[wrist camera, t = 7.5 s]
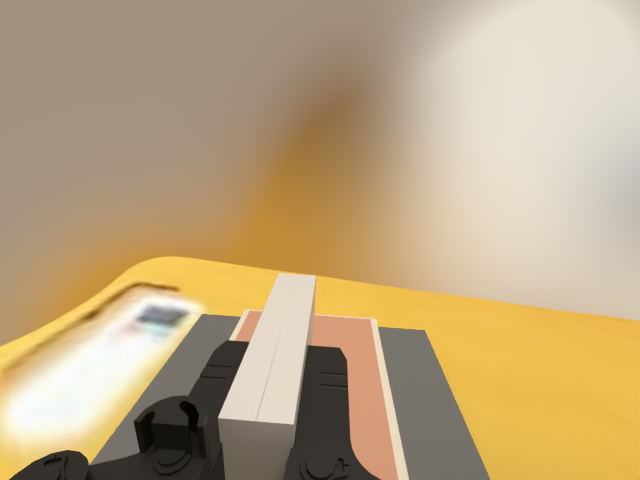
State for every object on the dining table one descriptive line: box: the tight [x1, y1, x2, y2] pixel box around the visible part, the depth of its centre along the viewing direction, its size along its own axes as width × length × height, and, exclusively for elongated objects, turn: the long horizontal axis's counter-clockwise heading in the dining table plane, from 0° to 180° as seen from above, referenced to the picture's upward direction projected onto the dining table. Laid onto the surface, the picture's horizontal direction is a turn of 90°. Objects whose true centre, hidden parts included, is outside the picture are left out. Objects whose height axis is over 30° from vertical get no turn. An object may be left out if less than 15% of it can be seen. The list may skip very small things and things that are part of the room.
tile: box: [229, 309, 409, 480], centre depth 16 cm, size 10×3×16 cm
